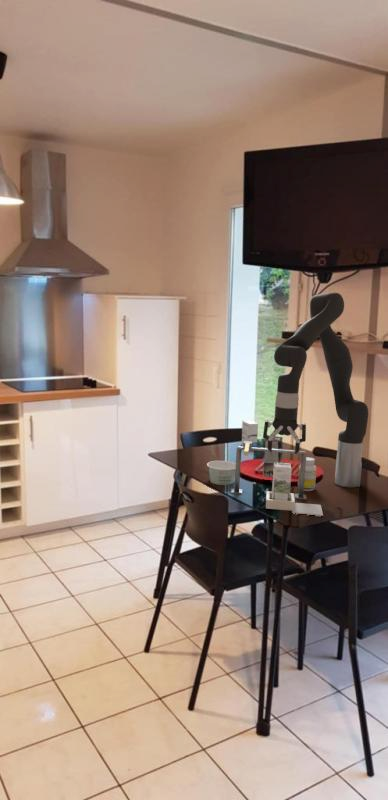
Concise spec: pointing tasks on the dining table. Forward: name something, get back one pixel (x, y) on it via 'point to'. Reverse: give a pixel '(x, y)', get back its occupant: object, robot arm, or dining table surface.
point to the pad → (307, 509)
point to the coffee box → (272, 456)
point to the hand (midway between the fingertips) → (283, 452)
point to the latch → (247, 447)
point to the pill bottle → (309, 474)
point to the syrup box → (281, 481)
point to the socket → (280, 502)
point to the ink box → (249, 432)
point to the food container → (221, 472)
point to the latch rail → (303, 453)
